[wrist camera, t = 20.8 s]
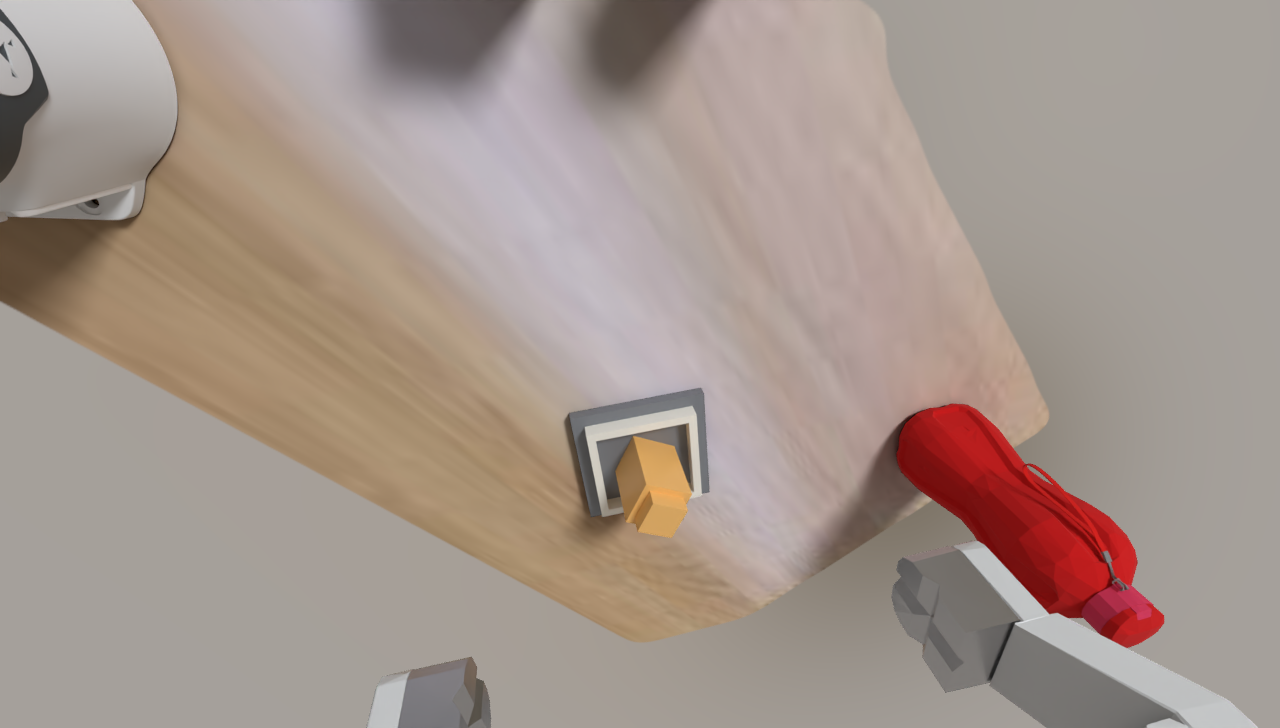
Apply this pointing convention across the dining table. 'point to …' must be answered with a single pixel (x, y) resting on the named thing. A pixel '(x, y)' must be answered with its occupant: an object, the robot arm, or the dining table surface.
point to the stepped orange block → (652, 487)
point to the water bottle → (1028, 522)
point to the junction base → (651, 418)
